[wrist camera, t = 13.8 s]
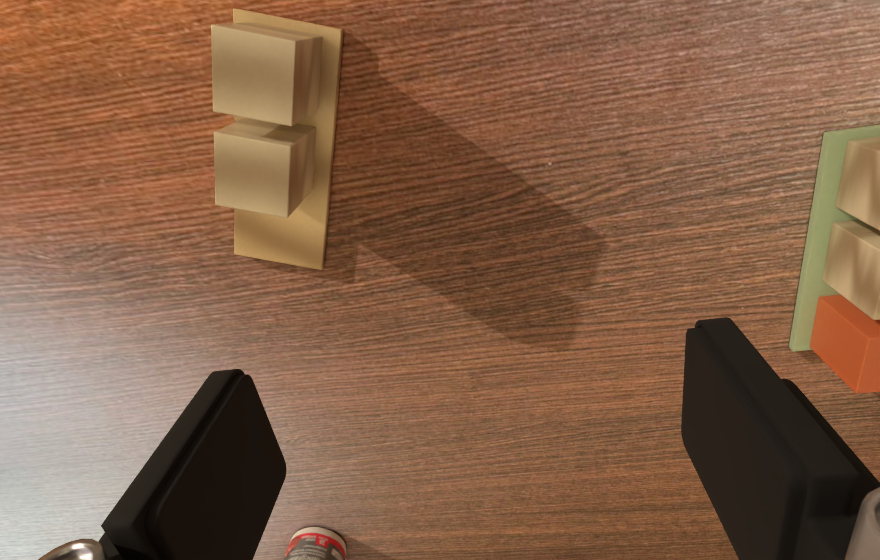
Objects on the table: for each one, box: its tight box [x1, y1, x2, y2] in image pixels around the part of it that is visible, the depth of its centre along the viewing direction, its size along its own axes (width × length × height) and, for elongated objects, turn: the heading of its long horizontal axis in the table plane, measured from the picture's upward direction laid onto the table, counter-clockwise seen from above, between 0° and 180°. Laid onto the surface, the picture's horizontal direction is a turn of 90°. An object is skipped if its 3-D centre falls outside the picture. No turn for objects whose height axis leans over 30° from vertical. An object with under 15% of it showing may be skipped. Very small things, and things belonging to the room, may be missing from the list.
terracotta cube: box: [810, 295, 880, 393], centre depth 33 cm, size 4×4×5 cm
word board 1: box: [211, 8, 344, 270], centre depth 30 cm, size 15×6×6 cm, turn 170°
